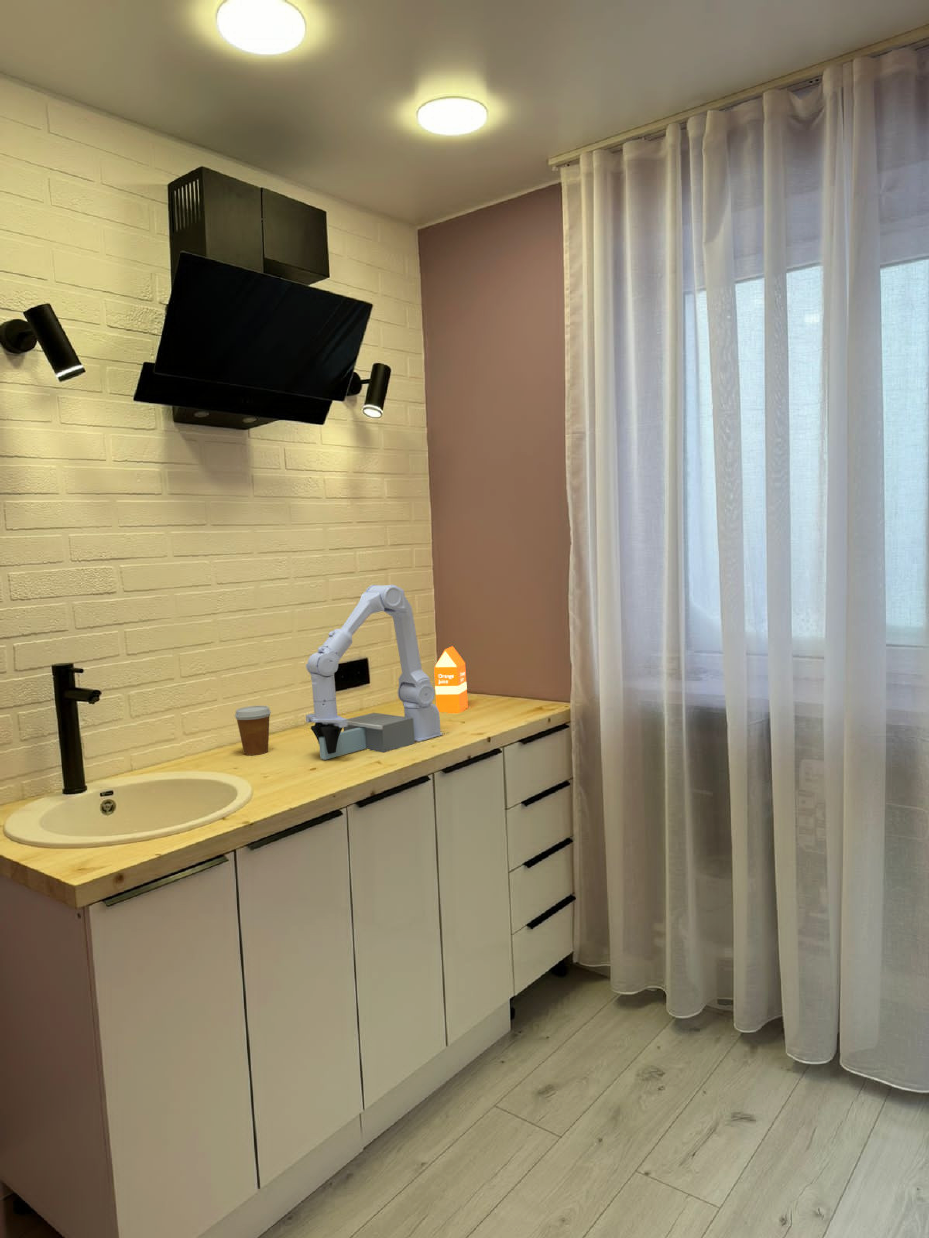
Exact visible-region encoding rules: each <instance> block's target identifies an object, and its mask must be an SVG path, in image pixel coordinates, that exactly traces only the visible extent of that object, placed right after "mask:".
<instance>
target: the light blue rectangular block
mask: <svg viewBox="0 0 929 1238" xmlns="http://www.w3.org/2000/svg"><path fill="white" fill-rule="evenodd" d="M319 745H320V746H319ZM318 746H319V755H320V760H325V761H326V760H329V759H333V758H335V757H339V756H343V755H348V754H350V753H354V752H359V751H362V750H364V749H366V750H367V742H366V728H365V727H358V728H354V729H350V730H346V731H344V730H341V733H340V735H339V738H338V742H337V748H336V752H335V753H331V754H328V752H327V748H326V741H325V737H324V736H323V737H319V743H318Z"/></svg>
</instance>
